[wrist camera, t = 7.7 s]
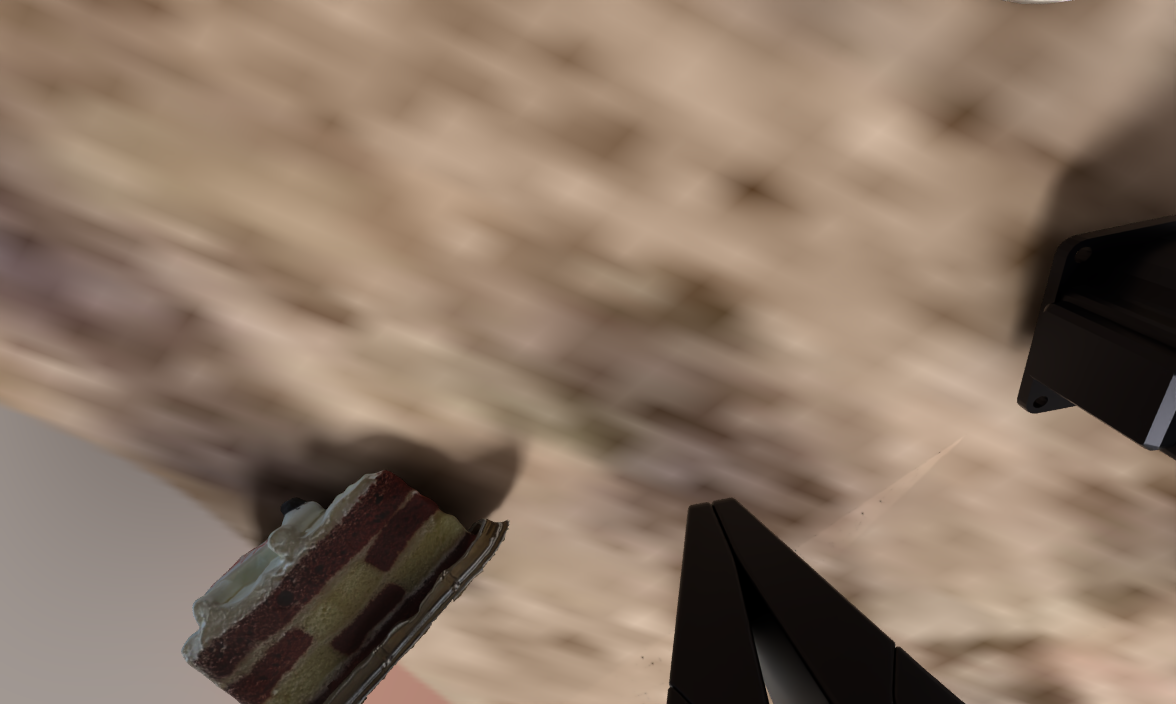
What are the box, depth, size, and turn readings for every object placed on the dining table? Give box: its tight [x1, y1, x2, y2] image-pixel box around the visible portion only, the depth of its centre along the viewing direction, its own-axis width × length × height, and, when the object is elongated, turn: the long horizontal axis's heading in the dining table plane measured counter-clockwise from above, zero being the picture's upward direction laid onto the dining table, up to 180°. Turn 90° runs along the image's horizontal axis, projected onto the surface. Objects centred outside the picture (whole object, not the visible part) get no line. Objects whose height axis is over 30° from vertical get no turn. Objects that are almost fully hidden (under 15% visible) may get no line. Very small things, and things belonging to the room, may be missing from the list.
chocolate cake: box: [181, 470, 510, 704], centre depth 20 cm, size 10×7×12 cm
